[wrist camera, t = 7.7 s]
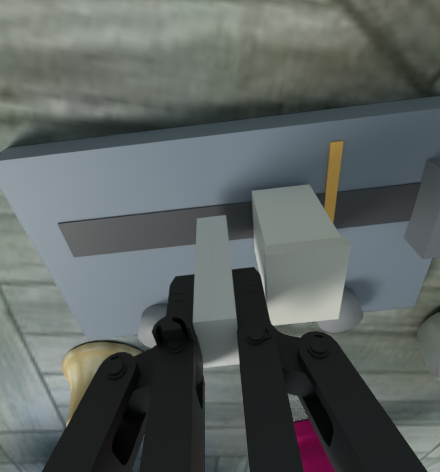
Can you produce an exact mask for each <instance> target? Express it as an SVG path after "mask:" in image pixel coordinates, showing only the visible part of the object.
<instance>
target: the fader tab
mask: <svg viewBox="0 0 440 472" xmlns="http://www.w3.org/2000/svg"><path fill="white" fill-rule="evenodd" d="M252 210H253V228H254V247H255V255H256V259H257V264H258V269H259V273H260V275H261V280H262V285H263V289H264V294H265V299H266V303H267V308H268V313H269V318H270V321H271V324H272V325H273V326H274V325H284V324H294V323H304V322H314V321H324V320H334V319H338V318H339V312H340V307H341V301H342V295H343V290H344V284H345V278H346V273H347V267H348V261H349V255H350V250H351V245H350V243H349V242H348V240H347V239H346V237H341V236H340V234H339V233H338V231H337V229H336V228H335V226H334V224H333V223H332V221H331V219H330V218H329V216H328V214H327V213H326V211H325V209H324V208H323V206H322V204H321V203H320V201H319V199H318V198H317V196H316V194H315V193H314V191H313V189H312V188H311V186H310V184H307V185H298V186H289V187H281V188H272V189H263V190H254V191H252Z"/></svg>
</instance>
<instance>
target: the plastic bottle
mask: <svg viewBox="0 0 440 472" xmlns="http://www.w3.org/2000/svg"><path fill="white" fill-rule="evenodd" d="M417 347H418V350H419V352H420V354H421V357H422V359H423V361H424V364H425V365H426V366H427V367H428V369H429V370H430V371H431V372H432V374H433V375H434V376H435V377H436V379H437V380H438V381H439V382H440V312H438V313H436V314H434V315H432V316H431V317H429V318H428V319H427V320H425V321H424V322H423V324H422V325H421V326H420V328H419V329H418V332H417Z"/></svg>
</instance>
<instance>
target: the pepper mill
mask: <svg viewBox="0 0 440 472" xmlns="http://www.w3.org/2000/svg"><path fill="white" fill-rule="evenodd" d="M294 427H295V431H296V436H297V441H298V446H299V450H300V455H301V460H302V464H303V469H304V472H335V470H334V468H333V466H332V464H331V462H330V460H329V458H328V456H327V454H326V452H325V450H324V448H323V446H322V444H321V442H320V440H319V438H318V436H317V434H316V432H315V430H314V428H313V426H312V424H311V422H310V420H304V421H299V422H295V423H294Z"/></svg>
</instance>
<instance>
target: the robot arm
mask: <svg viewBox="0 0 440 472" xmlns="http://www.w3.org/2000/svg"><path fill="white" fill-rule="evenodd" d="M152 334H153V337H154V339H155V342H156V345H155V346H154V347H153V348H151V349H150V350H148V351H146V352H143V353H141V354H138V355H136V356H132V355H131V354H130V353H127V352H117V353H115V354H112V355H110V356H109V357H108V358H106V359H105V360H104V361H103V362H102V363H101V365H100V366H99V368H98V370H97V371H96V373H95V375H94V377H93V379H92V381H91V382H90V384H89V386H88V388H87V390H86V392H85V394H84V395H83V397H82V399H81V401H80V403H79V405H78V406H77V408H76V410H75V412H74V414H73V416H72V417H71V419H70V421H69V423H68V425H67V427H66V429H65V430H64V432H63V434H62V436H61V438H60V440H59V441H58V443H57V445H56V447H55V449H54V451H53V453H52V454H51V456H50V458H49V460H48V462H47V464H46V465H45V467H44V469H43V471H42V472H131V471H132V468H133V465H134V462H135V459H136V457H137V454H138V451H139V448H140V445H141V442H142V440H143V437H144V434H145V437H144V444H143V451H142V458H141V465H140V472H205V382H204V377H203V365H204V368H207V367H217V366H227V365H237V364H240V373H241V384H242V394H243V405H244V415H245V426H246V436H247V447H248V457H249V468H250V472H304V469H303V464H302V460H301V455H300V450H299V446H298V441H297V436H296V431H295V427H294V422H293V417H292V413H291V408H290V403H289V399H288V394H287V393H289V394H293V395H297V396H298V397H299V399H300V402H301V404H302V406H303V408H304V410H305V412H306V414H307V416H308V418H309V420H310V422H311V424H312V426H313V428H314V430H315V432H316V434H317V436H318V438H319V440H320V442H321V444H322V446H323V448H324V450H325V452H326V454H327V456H328V458H329V460H330V462H331V464H332V466H333V468H334V470H335V472H427V470H426V469H425V467H424V466H423V465H422V463H421V462H420V460H419V459H418V458H417V456H416V455H415V453H414V452H413V450H412V449H411V448H410V446H409V445H408V443H407V442H406V440H405V439H404V438H403V436H402V435H401V433H400V432H399V430H398V429H397V428H396V426H395V425H394V423H393V422H392V420H391V419H390V418H389V416H388V415H387V413H386V412H385V410H384V409H383V408H382V406H381V405H380V403H379V402H378V400H377V399H376V398H375V396H374V395H373V393H372V392H371V390H370V389H369V388H368V386H367V385H366V383H365V382H364V381H363V379H362V378H361V376H360V375H359V373H358V372H357V371H356V369H355V368H354V366H353V365H352V363H351V362H350V361H349V359H348V358H347V356H346V355H345V353H344V352H343V351H342V349H341V348H340V346H339V345H338V343H337V342H336V341H335V340H334V339H333V338H332V337H331V336H329V335H327V334H325V333H323V332H317V331H314V332H308V333H306V334H304V335H303V336H302V337H301V338H298V337H293V336H288V335H285V334H282V333H281V332H279V331H277V330H276V329H275V328H274V327H273V325H272V324H271V321H270V318H269V313H268V308H267V303H266V299H265V294H264V289H263V285H262V280H261V275H260V273H259V272H258V271H257V270H256V269H255V267H248V268H239V269H232V263H231V254H230V245H229V237H228V229H227V220H226V215H222V216H213V217H205V218H197V228H196V253H195V274H191V275H182V276H175V278H174V279H173V281H172V282H171V284H170V288H169V296H168V304H167V311H166V316H165V317H163V318H162V319H160V320H159V321H158V322H157V323H156V324H155V325H154V327H153V330H152Z"/></svg>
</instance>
